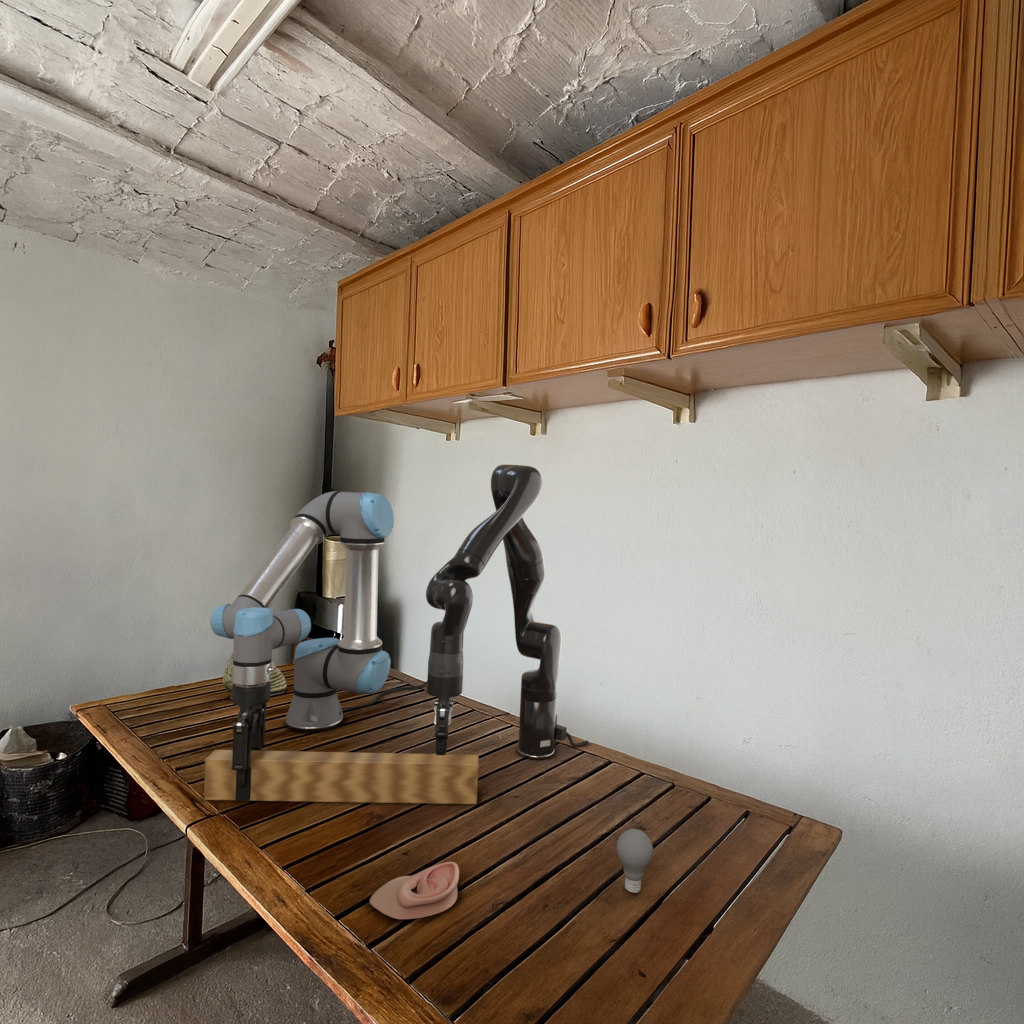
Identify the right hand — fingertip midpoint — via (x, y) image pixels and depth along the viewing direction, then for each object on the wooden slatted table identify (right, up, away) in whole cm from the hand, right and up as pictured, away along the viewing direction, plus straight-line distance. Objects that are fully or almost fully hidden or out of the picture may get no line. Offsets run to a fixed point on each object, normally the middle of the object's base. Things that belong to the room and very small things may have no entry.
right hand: (441, 746), depth 135 cm
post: (-21, -10, -1) cm, 23 cm away
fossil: (-66, -7, +63) cm, 91 cm away
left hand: (-41, -9, -2) cm, 42 cm away
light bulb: (+35, -13, -30) cm, 48 cm away
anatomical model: (-1, -12, -34) cm, 36 cm away
